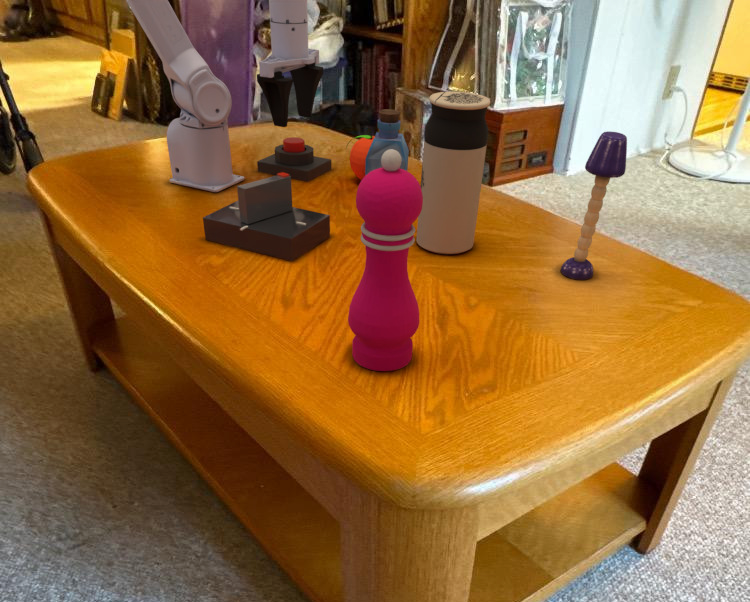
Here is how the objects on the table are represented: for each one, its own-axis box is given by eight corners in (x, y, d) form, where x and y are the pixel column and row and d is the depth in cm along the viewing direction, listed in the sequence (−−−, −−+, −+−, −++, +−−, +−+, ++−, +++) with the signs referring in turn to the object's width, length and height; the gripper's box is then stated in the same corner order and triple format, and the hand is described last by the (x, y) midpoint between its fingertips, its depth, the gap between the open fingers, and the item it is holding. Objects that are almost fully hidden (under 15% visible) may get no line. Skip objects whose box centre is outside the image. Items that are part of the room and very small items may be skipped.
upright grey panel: (247, 224, 89) (244, 187, 86) (240, 221, 90) (236, 184, 87) (292, 210, 94) (291, 174, 91) (285, 207, 95) (283, 171, 92)
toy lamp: (598, 270, 90) (635, 131, 79) (595, 284, 87) (633, 141, 75) (562, 264, 91) (593, 126, 80) (557, 277, 88) (589, 136, 76)
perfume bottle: (406, 190, 111) (411, 108, 103) (403, 203, 107) (408, 118, 99) (368, 188, 112) (371, 105, 104) (364, 200, 107) (366, 115, 99)
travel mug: (480, 240, 96) (500, 96, 84) (461, 260, 91) (480, 108, 79) (428, 229, 99) (441, 88, 87) (407, 248, 93) (417, 99, 81)
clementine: (336, 182, 113) (336, 136, 108) (353, 171, 118) (354, 126, 113) (381, 190, 111) (382, 143, 106) (396, 178, 116) (398, 132, 111)
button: (279, 152, 114) (278, 140, 113) (290, 147, 117) (290, 136, 116) (297, 155, 113) (297, 144, 112) (308, 150, 116) (308, 139, 115)
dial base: (200, 242, 92) (197, 218, 90) (251, 215, 100) (249, 193, 98) (287, 264, 88) (286, 240, 86) (333, 234, 96) (333, 211, 94)
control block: (257, 171, 116) (256, 149, 114) (283, 160, 121) (281, 138, 119) (307, 182, 113) (307, 159, 111) (331, 169, 118) (331, 148, 116)
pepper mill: (345, 339, 74) (347, 137, 60) (411, 339, 74) (427, 138, 61) (349, 375, 68) (352, 161, 55) (420, 374, 69) (440, 162, 55)
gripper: (285, 29, 97) (290, 134, 106) (335, 18, 106) (335, 115, 116) (244, 24, 99) (252, 127, 108) (296, 14, 109) (300, 109, 118)
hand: (293, 121), depth 112 cm, fingers open, 7 cm apart
